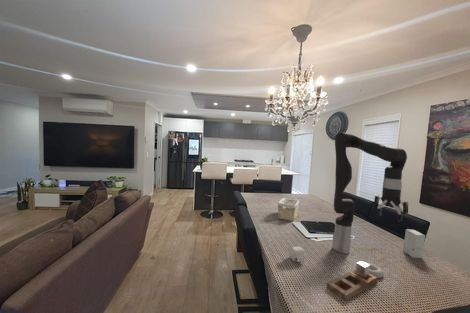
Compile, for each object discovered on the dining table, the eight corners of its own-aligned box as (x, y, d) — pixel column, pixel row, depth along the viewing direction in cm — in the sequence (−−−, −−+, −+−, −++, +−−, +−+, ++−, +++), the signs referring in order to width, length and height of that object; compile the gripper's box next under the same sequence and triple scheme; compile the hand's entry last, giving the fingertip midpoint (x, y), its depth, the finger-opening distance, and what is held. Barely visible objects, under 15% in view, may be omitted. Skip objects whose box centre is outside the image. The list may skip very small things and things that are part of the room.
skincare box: (402, 251, 134) (404, 228, 133) (411, 251, 134) (413, 229, 133) (413, 258, 126) (415, 234, 125) (423, 258, 126) (425, 234, 125)
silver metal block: (355, 278, 102) (356, 262, 102) (359, 276, 104) (361, 260, 104) (364, 283, 99) (365, 267, 98) (368, 281, 101) (369, 265, 100)
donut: (356, 270, 111) (375, 281, 102) (356, 263, 111) (376, 274, 102) (368, 266, 115) (387, 276, 106) (368, 260, 115) (388, 270, 106)
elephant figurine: (295, 267, 111) (296, 251, 111) (284, 255, 123) (285, 241, 122) (310, 265, 114) (311, 249, 113) (298, 253, 125) (299, 239, 125)
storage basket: (282, 211, 206) (283, 197, 205) (299, 214, 199) (299, 199, 198) (276, 218, 185) (277, 202, 184) (294, 222, 178) (295, 205, 177)
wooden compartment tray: (326, 288, 95) (327, 282, 95) (358, 273, 108) (358, 267, 108) (345, 302, 87) (346, 294, 87) (376, 283, 100) (377, 276, 100)
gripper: (372, 185, 109) (370, 215, 110) (405, 190, 97) (402, 224, 98) (379, 184, 113) (377, 213, 114) (412, 189, 100) (409, 222, 101)
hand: (389, 218), depth 106 cm, fingers open, 8 cm apart
